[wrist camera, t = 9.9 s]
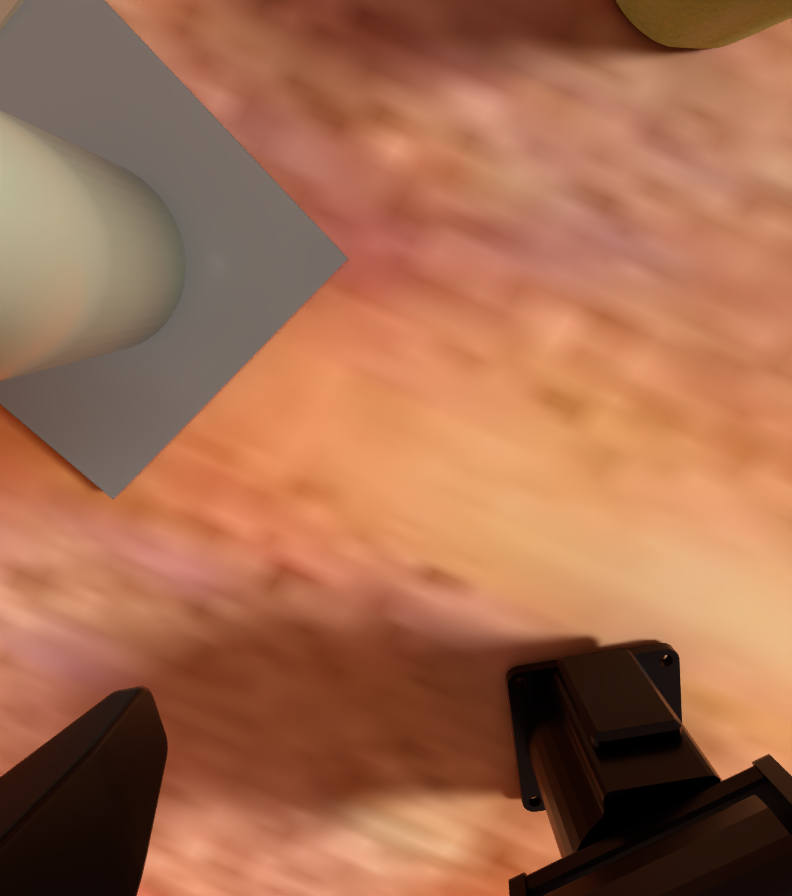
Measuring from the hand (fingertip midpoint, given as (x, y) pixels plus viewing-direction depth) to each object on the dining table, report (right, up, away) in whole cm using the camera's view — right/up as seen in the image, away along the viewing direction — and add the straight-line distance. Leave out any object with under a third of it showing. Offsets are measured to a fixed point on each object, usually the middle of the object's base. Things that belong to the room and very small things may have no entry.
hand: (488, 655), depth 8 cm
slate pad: (-11, +9, +11) cm, 17 cm away
